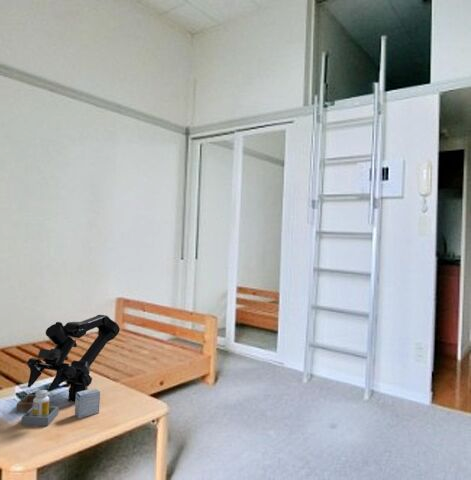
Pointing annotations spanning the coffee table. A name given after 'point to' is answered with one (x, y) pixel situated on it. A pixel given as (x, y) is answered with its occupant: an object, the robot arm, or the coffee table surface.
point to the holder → (26, 403)
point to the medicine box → (87, 402)
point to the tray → (39, 418)
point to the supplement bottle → (41, 404)
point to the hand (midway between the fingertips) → (38, 388)
